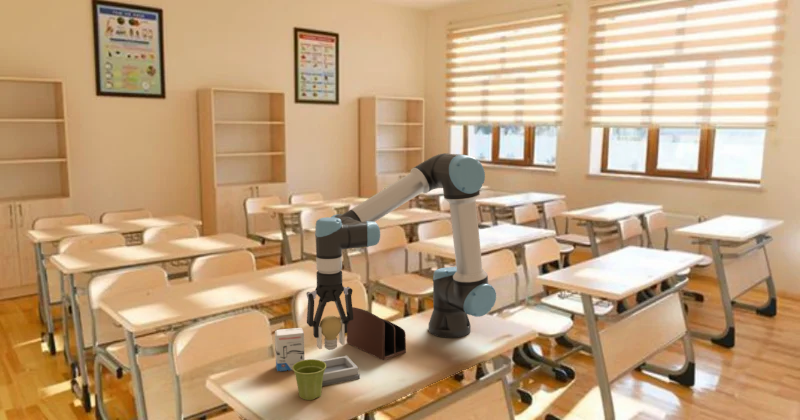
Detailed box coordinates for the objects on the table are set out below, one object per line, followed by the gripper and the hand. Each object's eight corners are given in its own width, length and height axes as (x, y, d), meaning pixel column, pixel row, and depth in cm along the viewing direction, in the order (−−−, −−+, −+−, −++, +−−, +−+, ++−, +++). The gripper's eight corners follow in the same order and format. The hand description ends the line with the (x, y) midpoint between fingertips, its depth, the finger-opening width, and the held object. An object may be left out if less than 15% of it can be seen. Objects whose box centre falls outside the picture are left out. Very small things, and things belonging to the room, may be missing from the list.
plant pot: (328, 387, 174) (327, 358, 172) (325, 402, 164) (324, 372, 163) (296, 388, 173) (294, 359, 172) (291, 403, 164) (290, 373, 163)
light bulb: (337, 353, 177) (337, 320, 175) (317, 351, 178) (316, 319, 176) (344, 345, 183) (343, 313, 181) (324, 343, 184) (323, 312, 182)
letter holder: (383, 361, 192) (382, 318, 190) (346, 343, 207) (345, 304, 204) (406, 352, 198) (406, 311, 196) (369, 336, 213) (368, 298, 211)
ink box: (277, 372, 184) (275, 335, 182) (275, 365, 189) (274, 329, 187) (305, 368, 186) (303, 332, 184) (303, 362, 191) (302, 327, 189)
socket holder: (346, 363, 190) (345, 354, 189) (359, 378, 179) (359, 368, 179) (305, 371, 184) (305, 361, 184) (317, 387, 174) (317, 377, 173)
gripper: (355, 264, 184) (356, 336, 187) (293, 271, 176) (295, 346, 180) (364, 269, 177) (365, 344, 181) (300, 277, 169) (302, 355, 173)
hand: (330, 345), depth 180 cm, fingers closed on light bulb, 6 cm apart
